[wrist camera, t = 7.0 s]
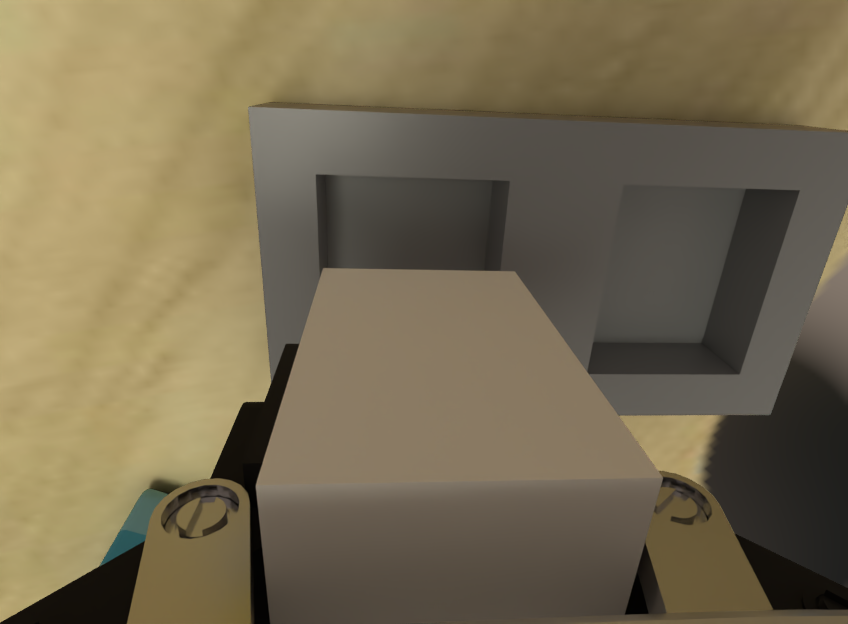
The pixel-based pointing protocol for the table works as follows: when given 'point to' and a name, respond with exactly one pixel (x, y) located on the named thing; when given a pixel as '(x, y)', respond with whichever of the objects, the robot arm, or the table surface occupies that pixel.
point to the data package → (135, 524)
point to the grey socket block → (569, 231)
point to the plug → (446, 461)
